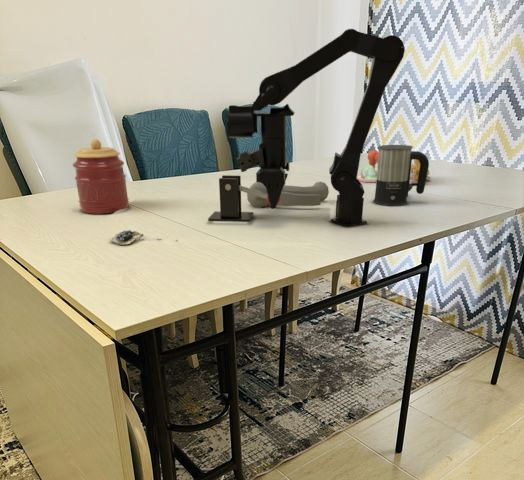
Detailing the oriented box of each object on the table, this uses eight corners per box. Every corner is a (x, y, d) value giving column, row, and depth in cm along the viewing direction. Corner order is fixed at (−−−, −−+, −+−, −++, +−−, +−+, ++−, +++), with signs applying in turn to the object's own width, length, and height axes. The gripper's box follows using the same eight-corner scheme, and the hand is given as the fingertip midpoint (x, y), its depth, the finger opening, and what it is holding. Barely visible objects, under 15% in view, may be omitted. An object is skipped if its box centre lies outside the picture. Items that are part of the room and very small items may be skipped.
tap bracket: (253, 216, 131) (252, 174, 126) (249, 224, 124) (248, 180, 119) (214, 216, 132) (212, 174, 127) (208, 223, 125) (205, 179, 120)
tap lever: (279, 206, 126) (283, 192, 125) (277, 209, 123) (281, 195, 122) (224, 188, 126) (227, 174, 124) (221, 191, 123) (225, 177, 121)
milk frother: (380, 206, 140) (386, 148, 133) (359, 195, 153) (363, 142, 146) (428, 204, 142) (437, 147, 135) (403, 193, 156) (409, 140, 149)
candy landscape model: (429, 175, 184) (433, 147, 180) (433, 187, 164) (437, 156, 159) (358, 173, 189) (360, 146, 185) (353, 184, 169) (356, 154, 164)
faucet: (331, 197, 155) (321, 216, 133) (264, 192, 159) (243, 210, 136) (333, 173, 152) (324, 189, 129) (264, 169, 156) (243, 183, 133)
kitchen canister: (125, 214, 134) (116, 141, 126) (75, 215, 133) (62, 142, 125) (132, 203, 146) (124, 136, 138) (86, 204, 145) (75, 137, 137)
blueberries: (146, 234, 116) (145, 226, 115) (139, 244, 109) (138, 235, 108) (115, 235, 116) (114, 226, 115) (107, 245, 108) (106, 236, 108)
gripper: (244, 134, 127) (246, 198, 134) (232, 142, 110) (235, 215, 118) (289, 133, 125) (289, 198, 133) (283, 142, 109) (283, 215, 116)
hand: (274, 206), depth 125 cm, fingers closed on tap lever, 3 cm apart
